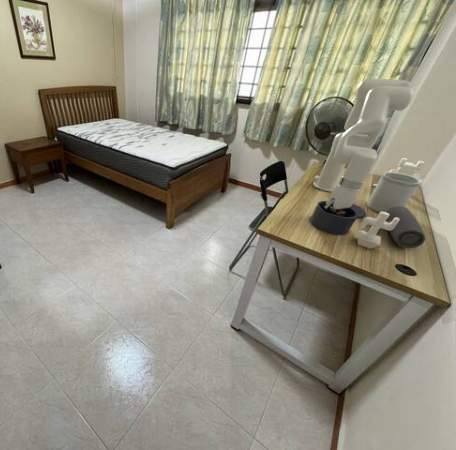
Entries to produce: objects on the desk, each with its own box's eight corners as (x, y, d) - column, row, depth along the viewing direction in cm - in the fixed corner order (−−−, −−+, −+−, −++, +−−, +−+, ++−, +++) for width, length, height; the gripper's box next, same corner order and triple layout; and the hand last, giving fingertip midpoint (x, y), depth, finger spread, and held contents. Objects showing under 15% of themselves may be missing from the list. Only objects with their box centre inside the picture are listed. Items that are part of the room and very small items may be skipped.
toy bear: (320, 221, 111) (332, 199, 105) (328, 220, 112) (340, 198, 106) (329, 227, 107) (342, 204, 101) (337, 226, 108) (350, 203, 102)
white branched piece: (412, 192, 143) (435, 160, 132) (413, 200, 134) (437, 166, 123) (373, 183, 153) (391, 152, 142) (371, 190, 144) (390, 157, 133)
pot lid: (320, 203, 127) (325, 193, 124) (343, 201, 131) (349, 190, 128) (347, 220, 114) (353, 208, 111) (372, 216, 118) (379, 205, 115)
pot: (302, 218, 115) (309, 202, 110) (328, 214, 118) (336, 199, 113) (329, 236, 102) (338, 220, 98) (356, 232, 106) (366, 216, 101)
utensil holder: (362, 208, 125) (381, 176, 115) (366, 199, 134) (384, 169, 124) (399, 219, 117) (423, 186, 107) (400, 208, 126) (422, 177, 116)
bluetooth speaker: (377, 220, 115) (389, 202, 109) (402, 226, 111) (416, 208, 106) (387, 245, 98) (401, 225, 93) (416, 253, 95) (433, 233, 89)
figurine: (351, 235, 104) (370, 205, 95) (379, 244, 99) (401, 213, 90) (350, 243, 99) (369, 212, 91) (378, 253, 94) (401, 221, 86)
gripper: (358, 178, 103) (338, 214, 114) (326, 180, 100) (309, 217, 110) (375, 185, 97) (353, 222, 108) (342, 188, 94) (322, 227, 104)
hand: (331, 219), depth 109 cm, fingers closed on toy bear, 4 cm apart
